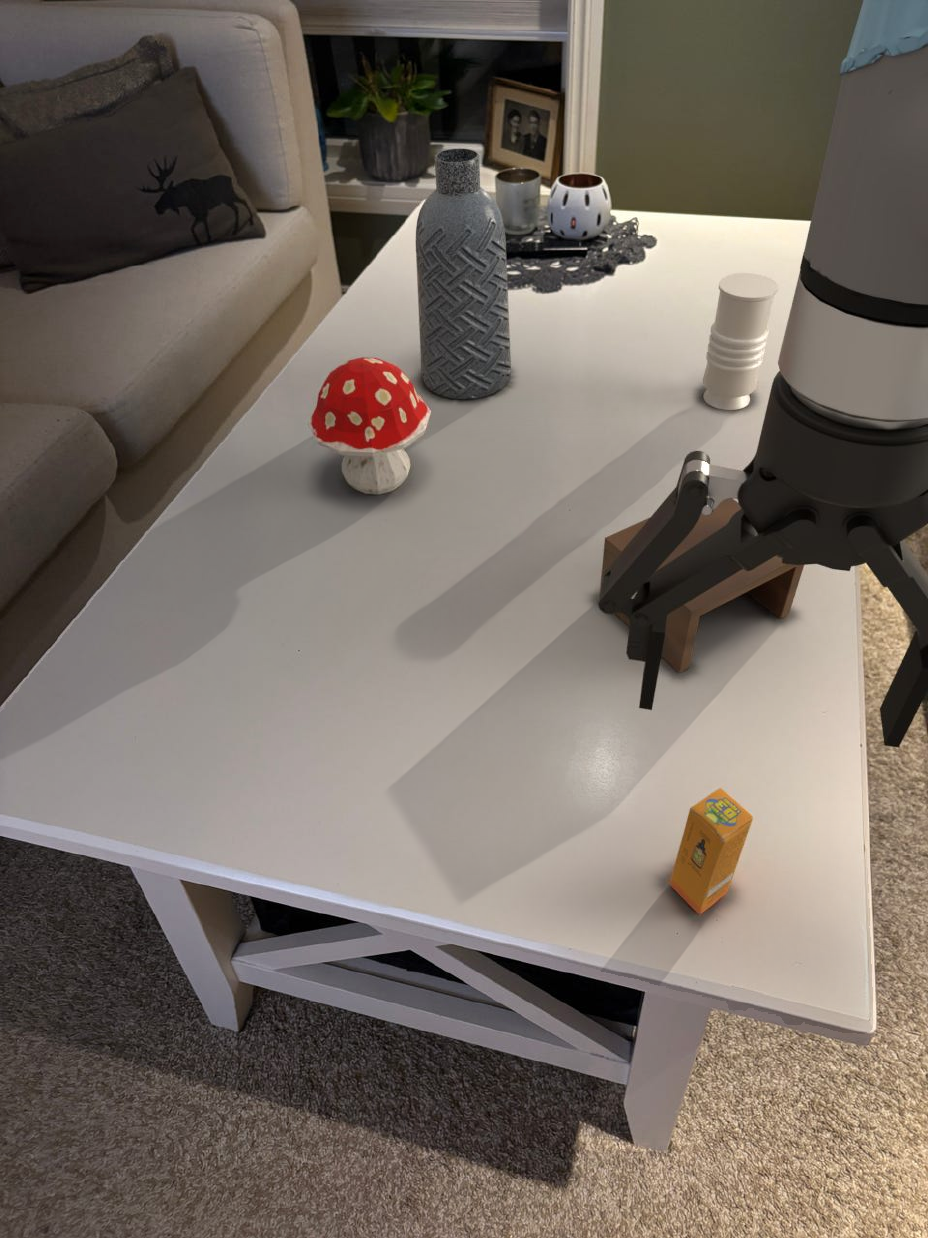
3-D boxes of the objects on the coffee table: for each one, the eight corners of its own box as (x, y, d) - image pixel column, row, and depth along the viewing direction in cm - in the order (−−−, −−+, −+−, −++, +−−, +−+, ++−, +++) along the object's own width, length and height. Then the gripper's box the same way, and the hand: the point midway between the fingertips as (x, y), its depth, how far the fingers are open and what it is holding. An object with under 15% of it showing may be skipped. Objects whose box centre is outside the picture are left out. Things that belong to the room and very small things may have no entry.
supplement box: (731, 892, 65) (758, 818, 58) (698, 917, 64) (721, 845, 57) (699, 859, 67) (721, 784, 60) (666, 883, 66) (684, 809, 59)
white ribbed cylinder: (750, 384, 116) (773, 272, 105) (757, 412, 111) (782, 297, 100) (697, 383, 116) (715, 272, 106) (702, 411, 111) (721, 297, 101)
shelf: (789, 614, 85) (808, 551, 80) (679, 673, 80) (691, 611, 75) (704, 548, 93) (716, 487, 87) (598, 599, 88) (604, 537, 82)
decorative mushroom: (441, 508, 99) (433, 390, 89) (319, 521, 99) (296, 404, 88) (430, 440, 109) (421, 327, 99) (319, 452, 108) (298, 339, 98)
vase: (414, 399, 116) (393, 172, 97) (431, 354, 125) (415, 138, 105) (505, 403, 115) (502, 174, 95) (515, 357, 123) (515, 138, 103)
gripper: (1179, 361, 36) (985, 693, 51) (580, 320, 41) (562, 634, 56) (1249, 465, 31) (1010, 800, 46) (555, 404, 36) (543, 725, 51)
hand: (764, 710), depth 51 cm, fingers open, 13 cm apart
